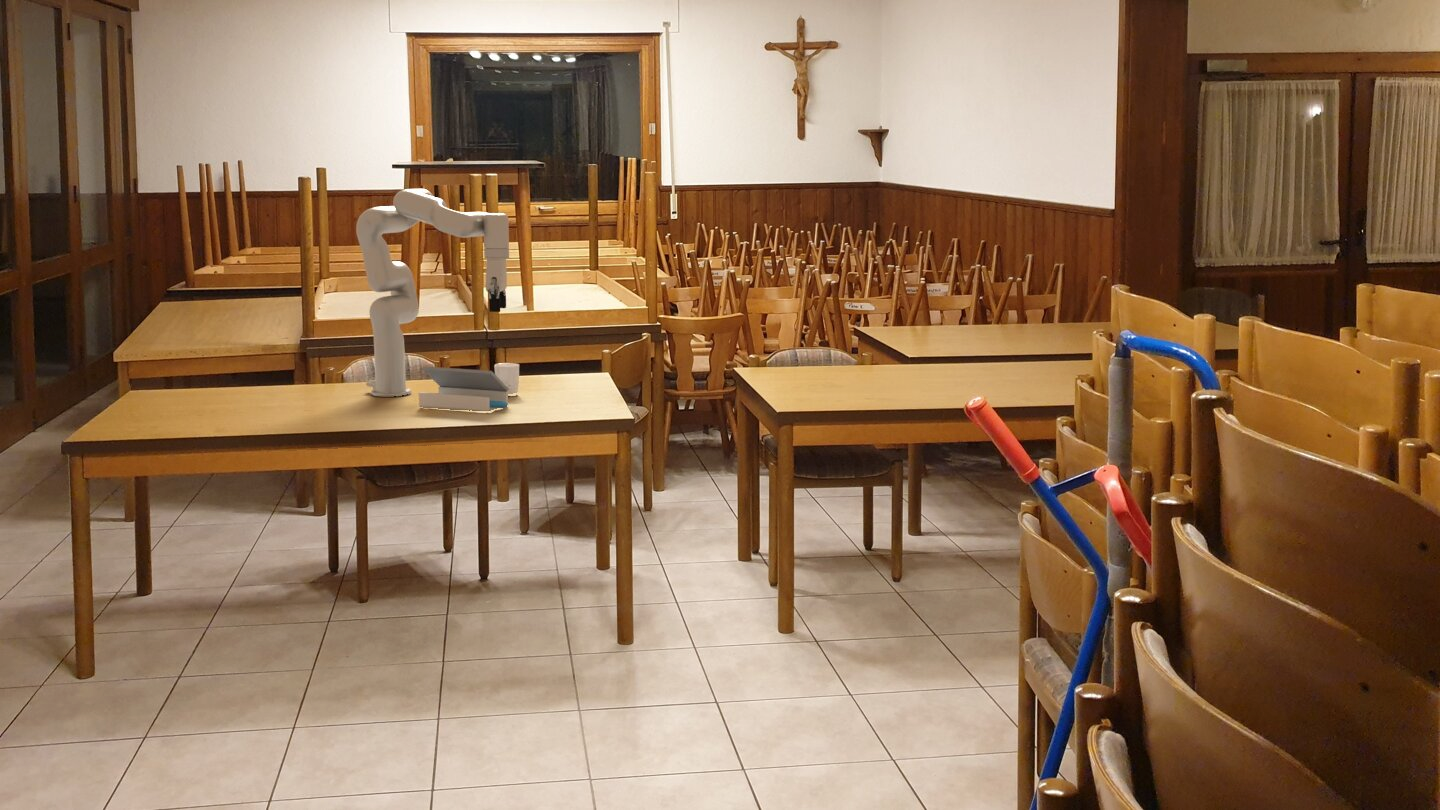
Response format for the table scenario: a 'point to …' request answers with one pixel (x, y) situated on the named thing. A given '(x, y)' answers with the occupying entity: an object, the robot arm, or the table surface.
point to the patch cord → (498, 404)
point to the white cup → (508, 375)
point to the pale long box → (462, 399)
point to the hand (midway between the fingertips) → (497, 309)
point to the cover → (465, 378)
